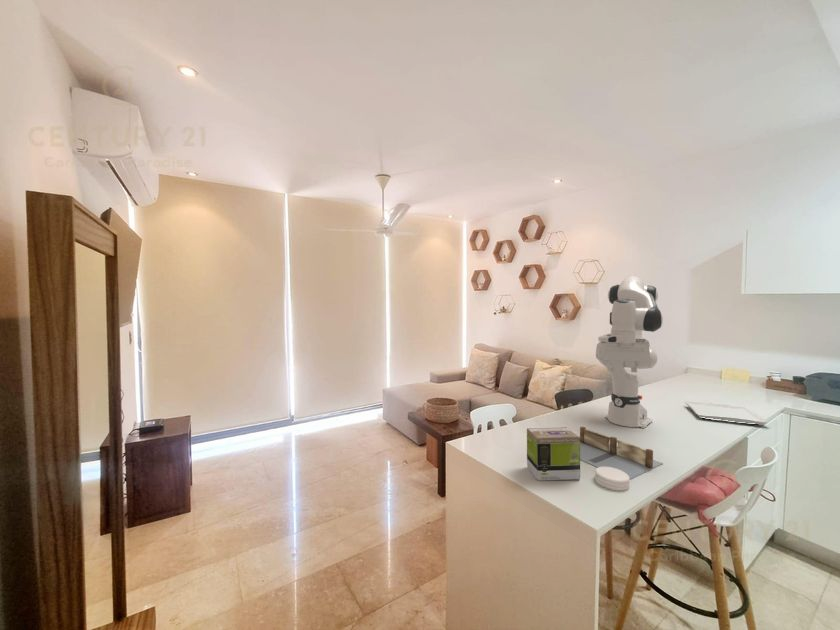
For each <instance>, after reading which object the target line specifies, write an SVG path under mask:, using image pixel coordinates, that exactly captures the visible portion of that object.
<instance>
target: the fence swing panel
mask: <svg viewBox="0 0 840 630" xmlns="http://www.w3.org/2000/svg"><path fill="white" fill-rule="evenodd" d="M616 442H617V447H618V450H617V455H619V456H622V457H625V458H627V459H630V460H632V461H635V462H638V463H640V464H643V465H645V466H646V467H647V468H653V460H654V450H653V449H650V448H643V447H640V446H637V445H634V444H631V443H628V442H625V441H622V440H620V439H619V440H618V439H617V441H616ZM653 469H654V468H653Z"/></svg>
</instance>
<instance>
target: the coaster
mask: <svg viewBox="0 0 840 630" xmlns="http://www.w3.org/2000/svg"><path fill="white" fill-rule="evenodd" d="M594 480H595V482H596V483H597V484H598V485H600V486H601V487H603V488H605V489H608V490H612V491H617V492H622V491H623V492H624V491H627V490H629V488H630V486H631V485H630V484H631V482H630V480H631V479H630V478H629V476H628V475H627V474H626V473H625V472H623V471H621V470H619V469H616V468H612V467H598V468H597V467H595V470H594Z"/></svg>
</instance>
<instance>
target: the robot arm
mask: <svg viewBox="0 0 840 630" xmlns="http://www.w3.org/2000/svg"><path fill="white" fill-rule="evenodd" d="M658 298H659V291H658V290H657V288H656V287H655V286H654V285H644V282H643V279H641V278H640V277H638V276H636V275H635V276H634V275H631V276H627V277H625V278H624V279H623V280H622V281H621V283H620V284H615V285H612V286H611V287H610V288H609V291H608V293H607V299H608V301H609V303H610V304H612V308H611V311H610V312H609V324H610V325H611V329H610V333H608V334H607V333H606V334H604V335H600V336H598V339H597V340H598V343H597V344H596V349H595V358H596V360H598V361H599V362H600V364H601V365H603V366H604V367H605V368H606V370H607V372H609V374H610V377H611V381H612V382H611V383H612V392H611V395H610V398H611V399H610V400H611V401H610V402H609V403H608V410H607V414H606V415H605V418H606V419H607V421H609V422H610V423H612V424H615V425H617V426H622V427H629V428H639V427H641V428H640V429H645V428H646V426H647V425H648V424H649V423H650V424H652V423H653V422H652V421H653V419H652V418H650V417H648V411H647V409H646V408H645V407H644V406H643V404H641V400H643V395H639V381H638V379H637V378H636V377H635V375H634V376H633V375H632V374H630V373H628V372H627V371H626V370H625V368H628V369H629V368H630V372H632V373H638V369H640V370H644V369H652V368H654V367H655V366H656V365H657V362H658V354H657V353H656V351H655V350H654V349H653V348H651V347H650V342H649V340H648V339H646V338H643V333H642V332H643V331H644V332H651V333H654V332H656V331H658V330H659V329H661V328H662V326H663V320H664V319H663V315H662V312H661V310H660V309H659V307H658V304H657V300H658ZM651 422H652V423H651ZM650 424H649V425H650ZM649 425H648V426H649ZM648 426H647V427H648Z"/></svg>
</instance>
